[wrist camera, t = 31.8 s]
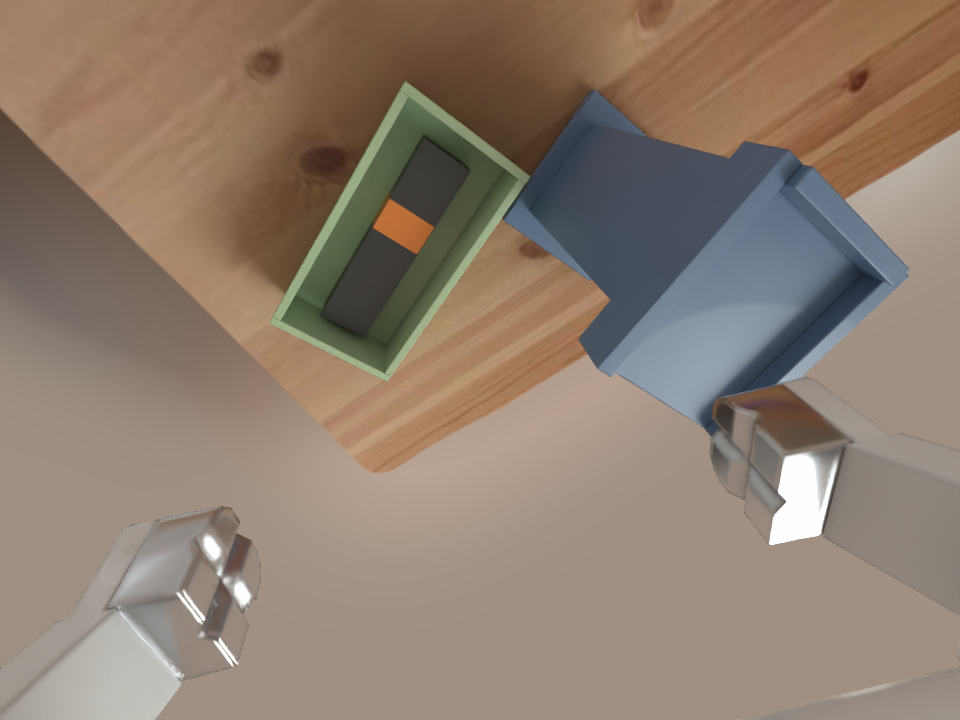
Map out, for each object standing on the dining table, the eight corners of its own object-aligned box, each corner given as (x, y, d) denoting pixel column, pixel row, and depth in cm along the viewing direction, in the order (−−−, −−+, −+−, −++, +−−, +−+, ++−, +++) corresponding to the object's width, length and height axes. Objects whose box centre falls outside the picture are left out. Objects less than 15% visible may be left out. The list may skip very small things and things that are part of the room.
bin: (388, 348, 53) (387, 382, 47) (284, 294, 49) (268, 323, 43) (515, 163, 46) (530, 176, 40) (405, 79, 41) (405, 81, 36)
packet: (366, 324, 51) (364, 338, 48) (324, 302, 49) (320, 315, 46) (467, 165, 45) (471, 171, 42) (423, 133, 43) (424, 137, 40)
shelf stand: (583, 281, 52) (737, 459, 28) (498, 221, 48) (593, 370, 24) (676, 165, 48) (954, 260, 24) (590, 89, 43) (822, 108, 19)
